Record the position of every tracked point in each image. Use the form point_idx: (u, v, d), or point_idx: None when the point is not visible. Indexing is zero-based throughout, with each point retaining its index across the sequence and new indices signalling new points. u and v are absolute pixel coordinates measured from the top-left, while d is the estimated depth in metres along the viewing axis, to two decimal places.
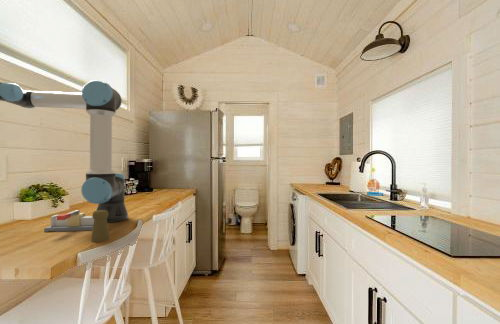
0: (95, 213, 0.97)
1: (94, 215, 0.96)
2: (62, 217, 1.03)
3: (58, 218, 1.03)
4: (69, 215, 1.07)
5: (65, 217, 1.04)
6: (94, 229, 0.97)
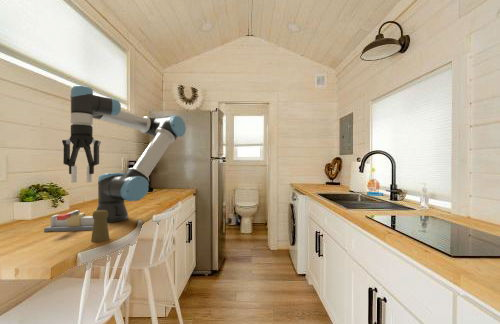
0: (95, 213, 0.97)
1: (94, 215, 0.96)
2: (62, 217, 1.03)
3: (58, 218, 1.03)
4: (69, 215, 1.07)
5: (65, 217, 1.04)
6: (94, 229, 0.97)
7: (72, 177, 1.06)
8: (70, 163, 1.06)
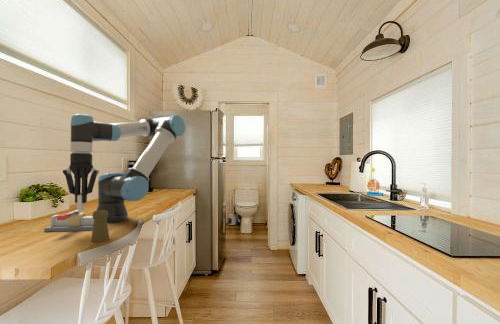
0: (95, 213, 0.97)
1: (94, 215, 0.96)
2: (62, 217, 1.03)
3: (58, 218, 1.03)
4: (69, 215, 1.07)
5: (65, 217, 1.04)
6: (94, 229, 0.97)
7: (78, 206, 1.06)
8: (76, 192, 1.06)
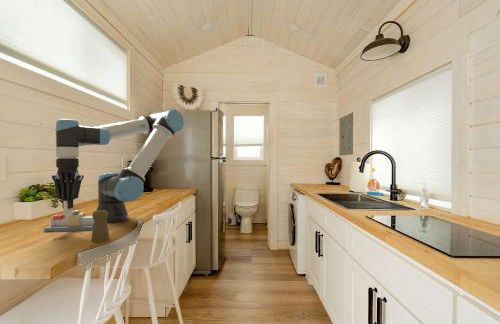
0: (95, 213, 0.97)
1: (94, 215, 0.96)
2: (58, 217, 1.03)
3: (54, 218, 1.03)
4: None
5: (61, 217, 1.04)
6: (94, 229, 0.97)
7: (64, 212, 1.05)
8: (62, 197, 1.05)
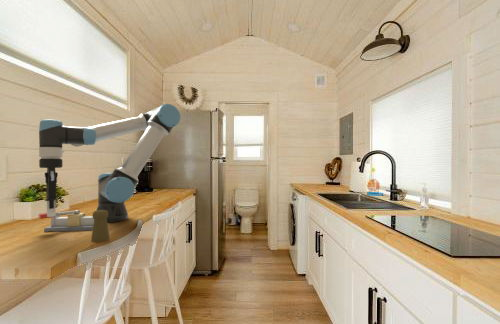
0: (95, 213, 0.97)
1: (94, 215, 0.96)
2: (39, 216, 1.05)
3: None
4: None
5: (43, 216, 1.06)
6: (94, 229, 0.97)
7: (47, 211, 1.06)
8: (47, 197, 1.07)
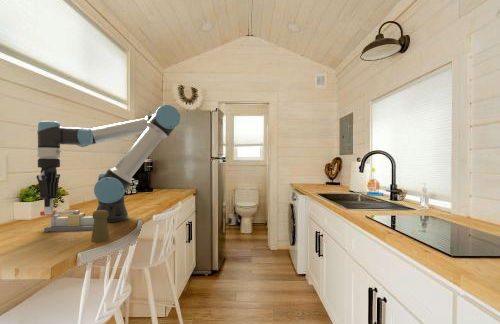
0: (95, 213, 0.97)
1: (94, 215, 0.96)
2: None
3: None
4: None
5: (43, 213, 1.11)
6: (94, 229, 0.97)
7: None
8: None
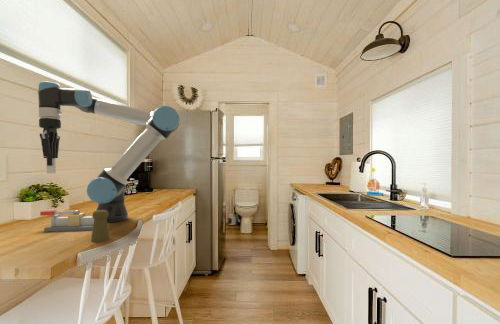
0: (95, 213, 0.97)
1: (94, 215, 0.96)
2: None
3: None
4: (51, 213, 1.12)
5: (43, 213, 1.11)
6: (94, 229, 0.97)
7: None
8: None
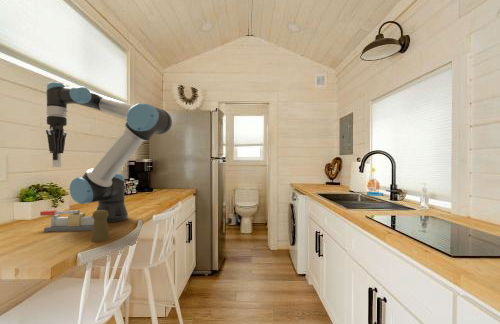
0: (95, 213, 0.97)
1: (94, 215, 0.96)
2: None
3: None
4: (51, 213, 1.12)
5: (43, 213, 1.11)
6: (94, 229, 0.97)
7: None
8: None
